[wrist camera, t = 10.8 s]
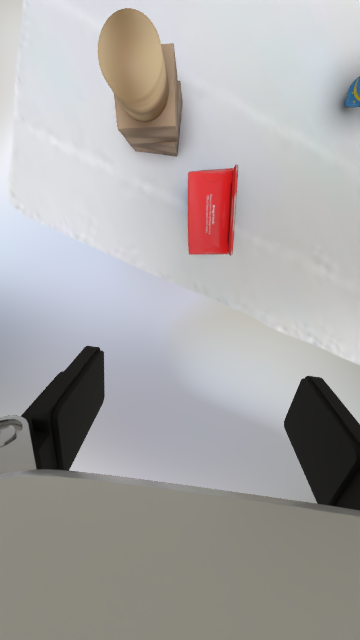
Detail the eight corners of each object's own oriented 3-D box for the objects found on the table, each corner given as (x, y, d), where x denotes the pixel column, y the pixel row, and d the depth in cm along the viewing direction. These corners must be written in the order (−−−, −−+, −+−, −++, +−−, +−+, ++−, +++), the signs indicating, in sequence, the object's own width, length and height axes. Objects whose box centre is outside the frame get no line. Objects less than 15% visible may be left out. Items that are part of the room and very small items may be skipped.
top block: (177, 75, 25) (173, 43, 21) (178, 141, 28) (175, 125, 23) (124, 78, 26) (109, 48, 21) (130, 143, 28) (117, 128, 24)
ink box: (189, 185, 34) (185, 161, 20) (222, 184, 34) (241, 159, 20) (189, 245, 37) (187, 259, 24) (220, 244, 37) (235, 258, 23)
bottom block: (182, 102, 30) (180, 80, 26) (177, 156, 33) (174, 145, 28) (137, 96, 30) (127, 74, 26) (135, 150, 33) (125, 139, 28)
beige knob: (171, 57, 21) (164, 11, 17) (166, 124, 23) (159, 100, 19) (118, 51, 21) (96, 4, 17) (118, 119, 23) (98, 94, 19)
